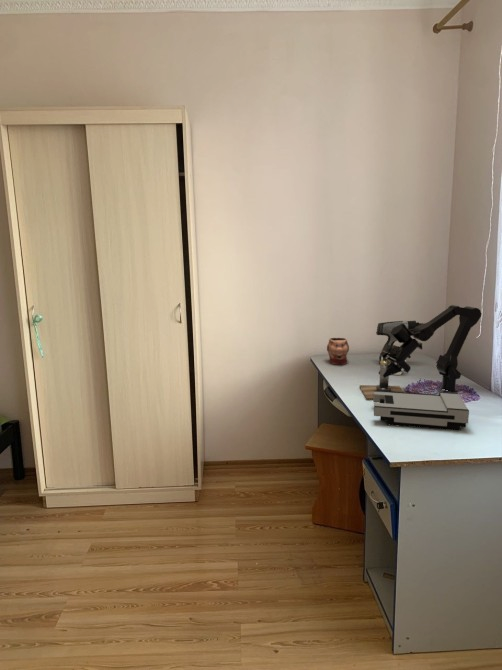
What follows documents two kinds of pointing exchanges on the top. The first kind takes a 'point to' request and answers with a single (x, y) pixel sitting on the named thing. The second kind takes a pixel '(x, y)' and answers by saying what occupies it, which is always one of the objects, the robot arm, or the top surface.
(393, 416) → the retro console
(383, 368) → the grey cylinder with base
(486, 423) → the top surface
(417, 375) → the top surface
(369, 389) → the board
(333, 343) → the decorative planter
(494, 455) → the top surface
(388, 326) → the cordless drill
